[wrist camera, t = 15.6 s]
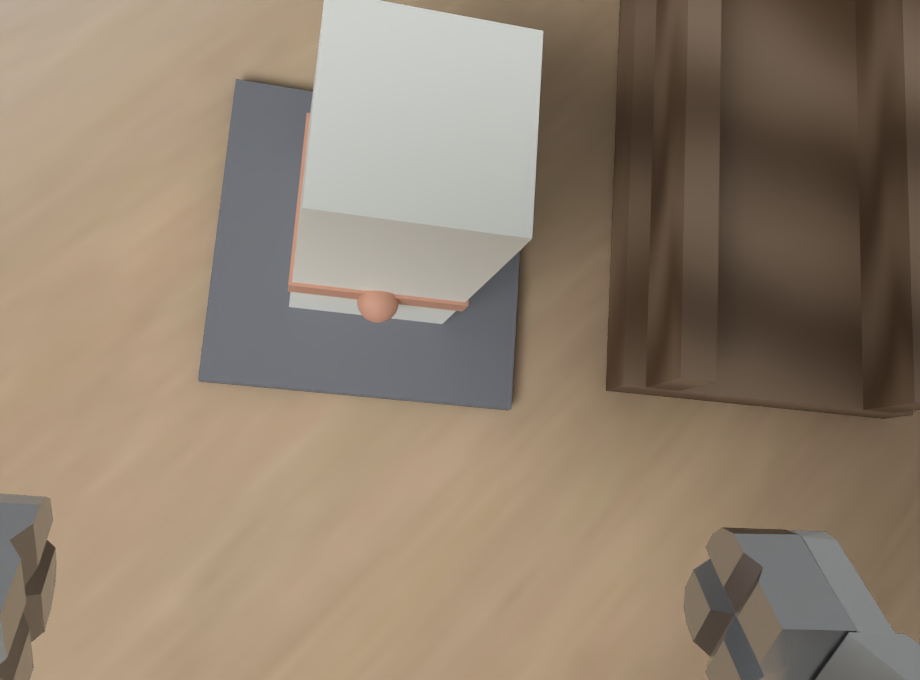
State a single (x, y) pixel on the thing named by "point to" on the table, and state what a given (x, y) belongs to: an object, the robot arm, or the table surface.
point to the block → (414, 160)
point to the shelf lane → (768, 204)
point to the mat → (322, 332)
